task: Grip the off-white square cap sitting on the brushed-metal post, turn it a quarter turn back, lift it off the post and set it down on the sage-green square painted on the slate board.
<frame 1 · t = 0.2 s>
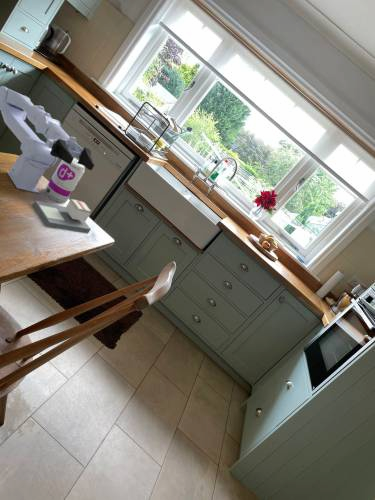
hand: (81, 164, 112), 21 cm above the table, tool horizontal, fingers open, 7 cm apart
board: (61, 218, 125), on the table
post: (71, 220, 128), resting on board
cap: (75, 214, 127), point 2 cm above the table, touching post
supplement can: (55, 196, 135), on the table
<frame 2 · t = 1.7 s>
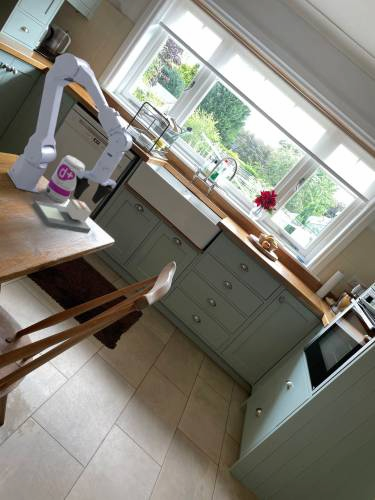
hand: (84, 199, 125), 9 cm above the table, tool pointing down, fingers open, 7 cm apart
nothing on the table moved.
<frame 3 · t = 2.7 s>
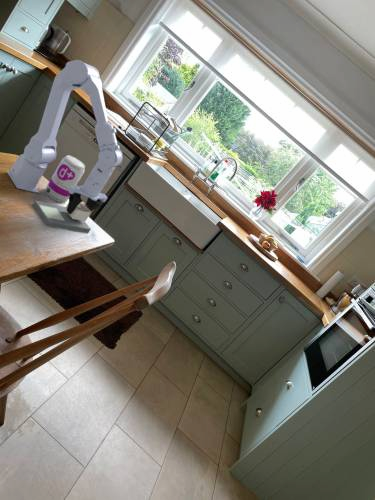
hand: (75, 213, 127), 3 cm above the table, tool pointing down, fingers closed on cap, 5 cm apart
cap: (75, 214, 127), point 2 cm above the table, touching gripper, post
everything else where it was.
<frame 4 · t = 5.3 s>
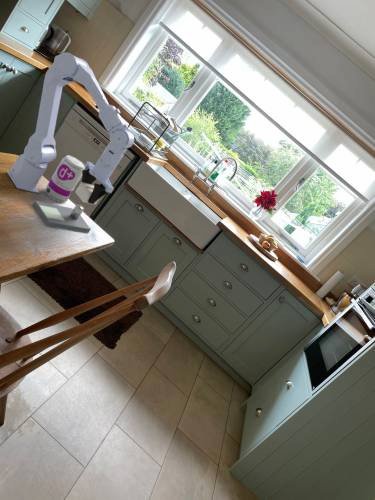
hand: (86, 197, 125), 10 cm above the table, tool pointing down, fingers closed on cap, 5 cm apart
cap: (85, 198, 125), point 9 cm above the table, touching gripper
everything else where it was.
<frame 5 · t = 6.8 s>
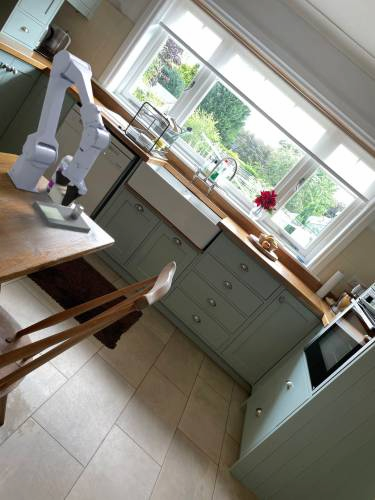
hand: (60, 199, 119), 7 cm above the table, tool pointing down, fingers closed on cap, 5 cm apart
cap: (59, 200, 119), point 6 cm above the table, touching gripper
everything else where it was.
when the fingers open (3 cm above the table, at t = 8.2 s): cap drops 1 cm, resting on board.
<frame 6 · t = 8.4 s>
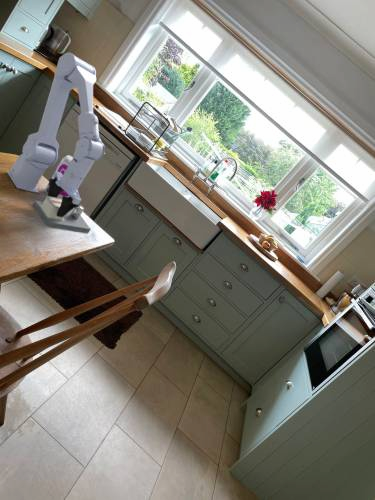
hand: (54, 208, 120), 3 cm above the table, tool pointing down, fingers open, 7 cm apart
cap: (52, 212, 120), point 2 cm above the table, touching board
everything else where it was.
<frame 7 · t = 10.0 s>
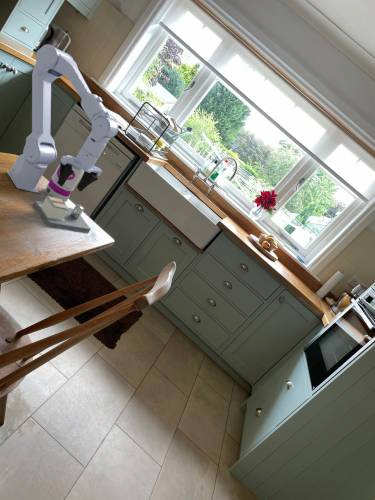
hand: (69, 187, 123), 10 cm above the table, tool pointing down, fingers open, 7 cm apart
nothing on the table moved.
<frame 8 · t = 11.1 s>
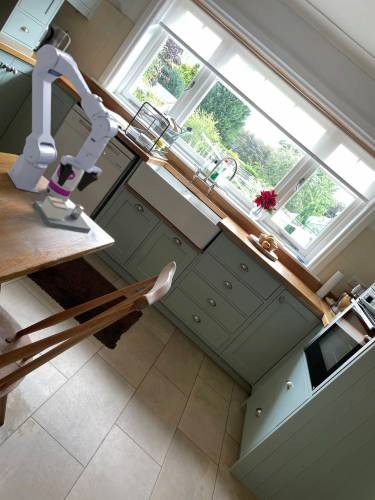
hand: (69, 187, 123), 10 cm above the table, tool pointing down, fingers open, 7 cm apart
nothing on the table moved.
at the end: cap 0.0 cm from the target spot on the board, point 1.6 cm above the board's base; cap tilted 0°; the gripper is holding nothing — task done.
